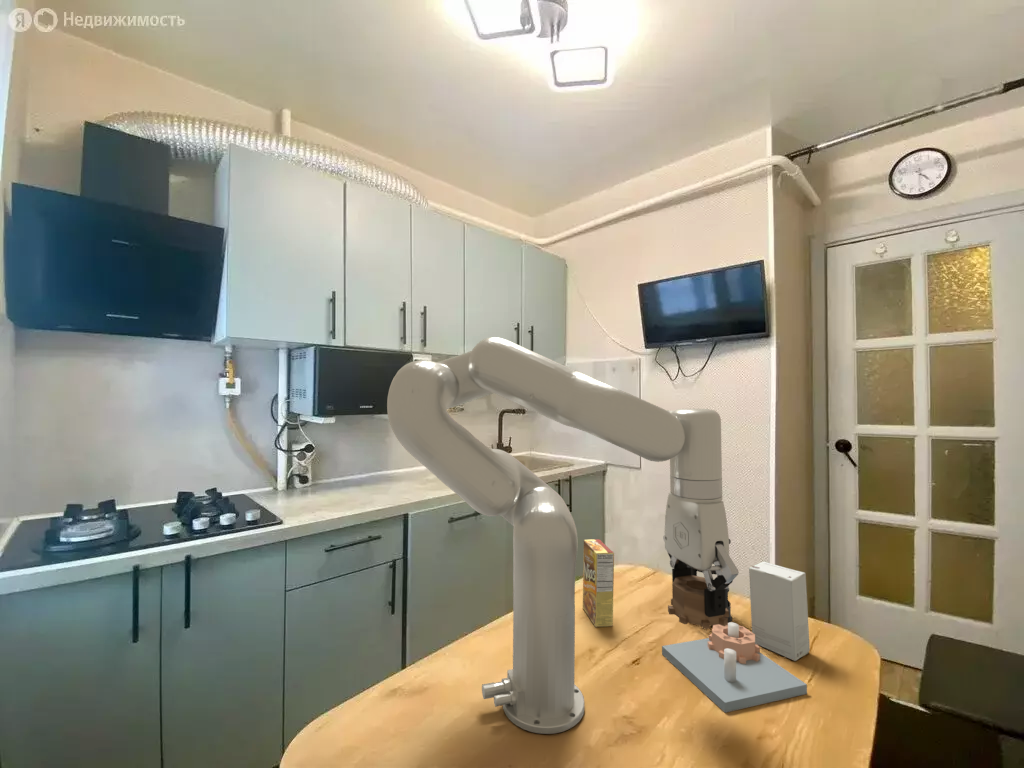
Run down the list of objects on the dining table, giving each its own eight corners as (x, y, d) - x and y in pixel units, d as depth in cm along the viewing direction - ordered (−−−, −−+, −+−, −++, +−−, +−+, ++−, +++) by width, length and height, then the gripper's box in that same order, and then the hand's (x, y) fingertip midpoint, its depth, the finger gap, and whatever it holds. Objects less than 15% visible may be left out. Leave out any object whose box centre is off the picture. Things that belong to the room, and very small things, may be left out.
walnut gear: (692, 632, 66) (691, 600, 66) (658, 605, 74) (657, 577, 74) (741, 623, 68) (740, 593, 68) (703, 598, 76) (702, 571, 76)
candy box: (581, 607, 103) (582, 539, 103) (599, 606, 103) (600, 538, 104) (595, 628, 94) (595, 553, 94) (614, 626, 95) (615, 552, 95)
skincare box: (810, 653, 85) (810, 573, 86) (794, 663, 82) (794, 580, 82) (764, 633, 92) (764, 559, 93) (748, 641, 89) (748, 565, 89)
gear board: (724, 712, 69) (724, 672, 69) (661, 654, 85) (662, 621, 85) (808, 693, 74) (808, 656, 74) (734, 641, 89) (734, 610, 89)
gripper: (643, 479, 78) (645, 583, 78) (714, 503, 62) (716, 635, 61) (681, 476, 80) (683, 578, 80) (759, 498, 64) (762, 627, 63)
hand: (697, 602), depth 71 cm, fingers closed on walnut gear, 7 cm apart
